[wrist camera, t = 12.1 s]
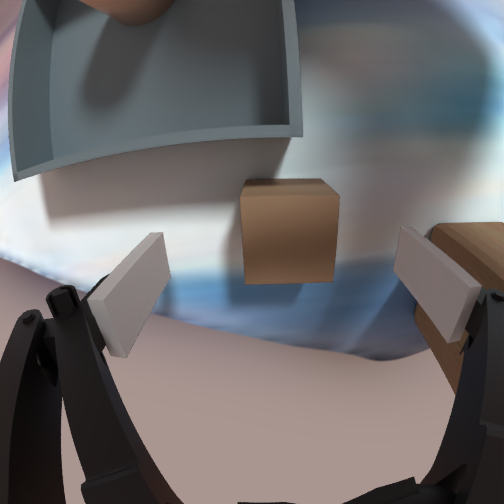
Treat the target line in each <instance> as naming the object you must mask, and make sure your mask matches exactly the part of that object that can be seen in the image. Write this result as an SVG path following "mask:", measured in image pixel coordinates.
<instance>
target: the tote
mask: <svg viewBox="0 0 504 504" xmlns="http://www.w3.org/2000/svg"><path fill="white" fill-rule="evenodd" d="M8 128H9V144H10V155H11V164H12V171H13V178H14V182H16V181H19V180H22V179H25V178H28V177H31V176H34V175H37V174H40V173H43V172H46V171H50V170H53V169H57V168H60V167H64V166H67V165H71V164H75V163H79V162H83V161H87V160H91V159H95V158H100V157H104V156H109V155H114V154H119V153H124V152H130V151H135V150H141V149H147V148H153V147H160V146H167V145H175V144H183V143H191V142H201V141H212V140H225V139H241V138H266V137H303V123H302V96H301V77H300V61H299V47H298V35H297V24H296V14H295V5H294V0H175V1H174V3H173V4H172V6H171V7H170V8H169V9H168V10H167V11H166V12H165V13H164V14H162V15H161V16H160V17H158V18H157V19H155V20H153V21H151V22H149V23H146V24H143V25H139V26H126V25H123V24H121V23H120V22H118V21H116V20H114V19H113V18H111V17H109V16H107V15H106V14H104V13H102V12H100V11H98V10H96V9H94V8H93V7H91V6H89V5H87V4H85V3H83V2H81V1H79V0H23V2H22V5H21V9H20V13H19V17H18V21H17V26H16V31H15V36H14V42H13V48H12V55H11V63H10V73H9V89H8Z"/></svg>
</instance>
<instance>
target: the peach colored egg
mask: <svg viewBox="0 0 504 504" xmlns="http://www.w3.org/2000/svg"><path fill="white" fill-rule="evenodd" d="M79 1H81V2H83V3H85V4H87V5H89V6H91V7H93V8H94V9H96V10H98V11H100V12H102V13H104V14H106V15H107V16H109V17H111V18H113V19H114V20H116V21H118V22H120V23H121V24H123V25H126V26H139V25H143V24H146V23H149V22H151V21H153V20H155V19H157V18H158V17H160V16H161V15H162V14H164V13H165V12H166V11H167V10H168V9H169V8H170V7H171V6H172V4H173V3H174V1H175V0H79Z"/></svg>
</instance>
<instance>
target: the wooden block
mask: <svg viewBox="0 0 504 504" xmlns="http://www.w3.org/2000/svg"><path fill="white" fill-rule="evenodd" d="M430 242H432V243H433V244H434V245H435V246H437V247H438V248H439V249H440V250H442V251H443V252H444V253H445V254H446V255H448V256H449V257H450V258H451V259H452V260H454V261H455V262H456V263H457V264H458V265H459V266H461V267H462V268H463V269H464V270H465V271H466V272H468V273H469V274H470V275H471V276H472V277H473V278H474V279H475V280H476V281H477V282H479V283H480V284H481V285H482V286H483V287H484V288H485V289H486V290H488V289H497V290H500V291H502V292H503V293H504V223H503V222H472V223H441V224H438V225H436V226H434V229H433V231H432V234H431V240H430ZM414 317H415V323H416V325H417V326H418V328H419V330H420V331H421V333H422V335H423V336H424V338H425V340H426V341H427V343H428V345H429V347H430V348H431V350H432V352H433V354H434V355H435V357H436V359H437V361H438V362H439V364H440V366H441V368H442V370H443V372H444V374H445V375H446V378H447V379H448V381H449V383H450V385H451V387H452V389H453V391H454V393H455V396H456V392H457V388H458V383H459V379H460V373H461V368H462V362H463V356H464V352H462V354H461V355H460V354H459V353H460V351H461V349H462V347H463V345H464V343H465V341H466V339H467V337H468V335H469V333H468V332H467V331H466V329H465V330H464V332H463V335H462V337H461V339H460V340H459V341H456V342H452V343H447V342H446V340H445V339H444V337H443V336H442V335H441V333H440V332H439V330H438V329H437V327H436V326H435V325H434V323H433V322H432V320H431V319H430V318H429V316H428V315H427V314H426V312H425V311H424V310H423V308H422V307H421V306H420V304H419V303H418V302H417V305H416V308H415V312H414Z"/></svg>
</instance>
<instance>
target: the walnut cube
mask: <svg viewBox="0 0 504 504" xmlns="http://www.w3.org/2000/svg"><path fill="white" fill-rule="evenodd" d="M339 199H340V196H339V195H338V194H337V193H336V192H335V191H334V190H333V189H332V188H331V187H330V186H329V185H327V184H326V183H325V182H324V181H323V180H322V179H254V180H246V182H245V184H244V187H243V189H242V192H241V195H240V211H241V227H242V242H243V257H244V271H245V284H290V283H320V282H333V276H334V267H335V257H336V245H337V233H338V218H339Z"/></svg>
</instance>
